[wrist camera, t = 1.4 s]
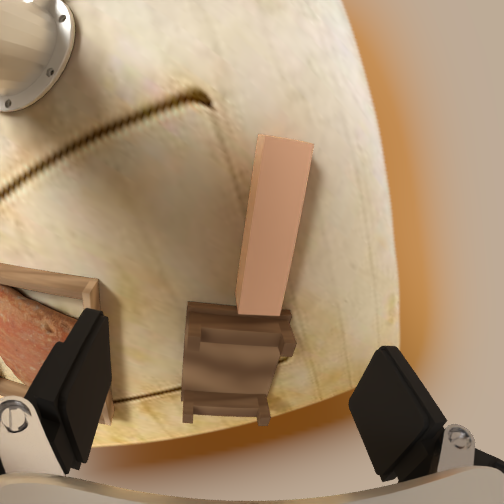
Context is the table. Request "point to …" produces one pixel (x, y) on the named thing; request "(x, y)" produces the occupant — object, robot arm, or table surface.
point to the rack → (231, 360)
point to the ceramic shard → (28, 332)
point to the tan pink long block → (271, 223)
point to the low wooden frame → (56, 286)
